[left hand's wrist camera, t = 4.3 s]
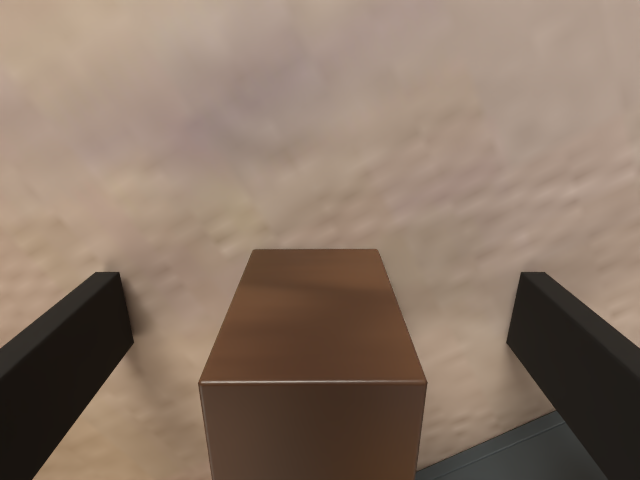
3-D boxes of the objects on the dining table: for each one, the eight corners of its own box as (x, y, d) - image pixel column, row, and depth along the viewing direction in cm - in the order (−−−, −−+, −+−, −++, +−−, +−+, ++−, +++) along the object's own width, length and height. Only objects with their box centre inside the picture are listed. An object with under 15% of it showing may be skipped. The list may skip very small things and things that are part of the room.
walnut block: (259, 352, 14) (218, 534, 8) (252, 248, 12) (195, 383, 7) (371, 352, 14) (409, 534, 8) (378, 248, 12) (429, 382, 7)
